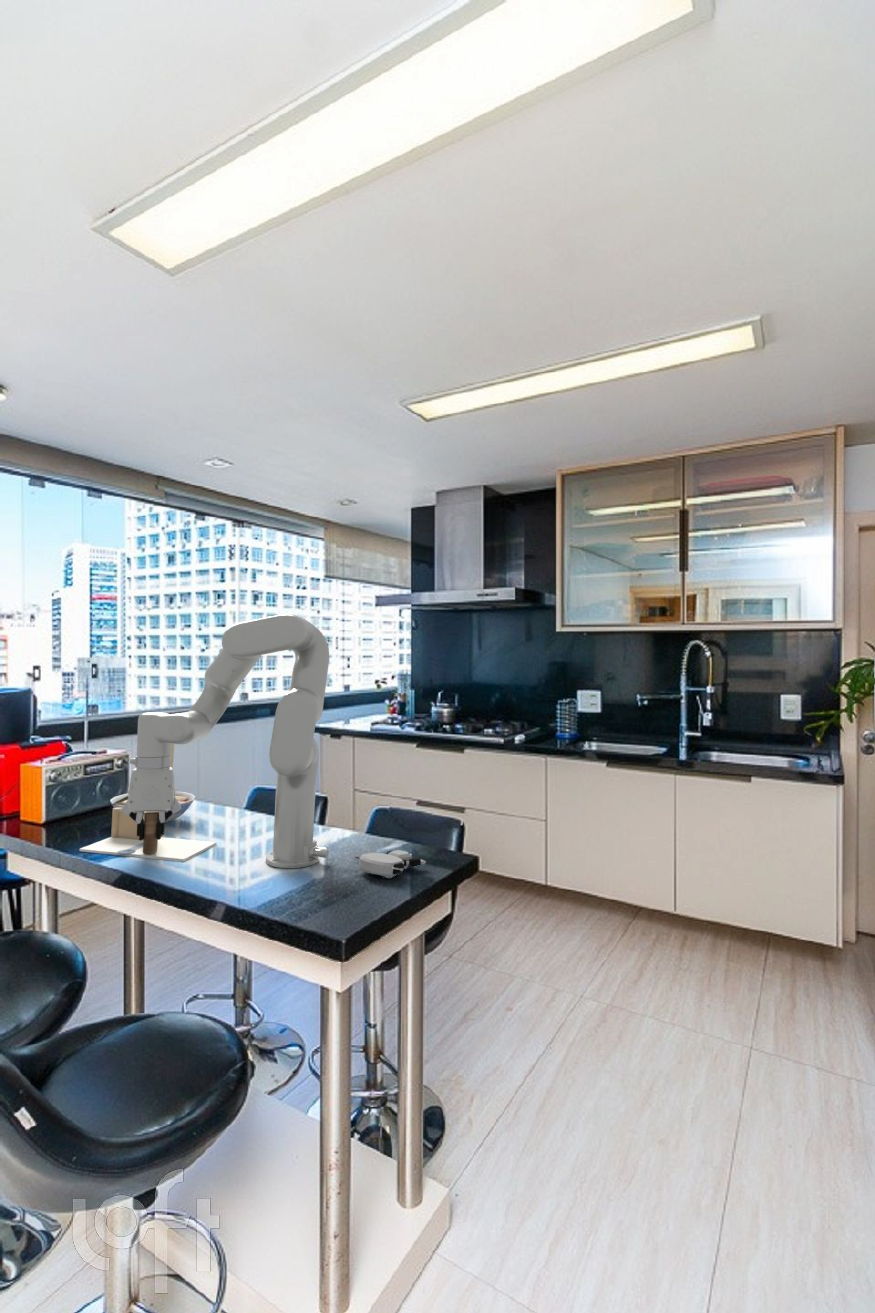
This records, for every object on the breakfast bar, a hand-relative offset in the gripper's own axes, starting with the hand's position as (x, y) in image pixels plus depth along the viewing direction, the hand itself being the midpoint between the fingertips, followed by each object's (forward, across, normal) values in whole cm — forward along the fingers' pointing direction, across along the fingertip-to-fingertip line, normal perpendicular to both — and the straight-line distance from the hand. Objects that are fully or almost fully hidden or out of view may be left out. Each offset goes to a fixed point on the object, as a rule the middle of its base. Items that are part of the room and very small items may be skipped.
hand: (150, 837), depth 149 cm
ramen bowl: (+5, -4, +33) cm, 33 cm away
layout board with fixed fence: (+4, -1, +7) cm, 8 cm away
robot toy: (+6, +55, -21) cm, 59 cm away
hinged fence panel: (+3, 0, +5) cm, 6 cm away
